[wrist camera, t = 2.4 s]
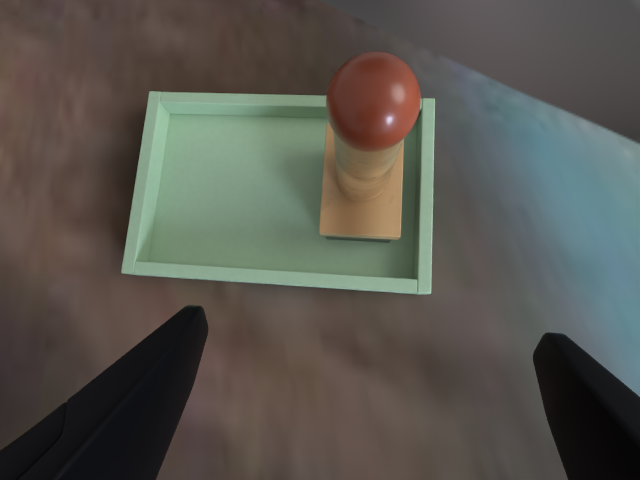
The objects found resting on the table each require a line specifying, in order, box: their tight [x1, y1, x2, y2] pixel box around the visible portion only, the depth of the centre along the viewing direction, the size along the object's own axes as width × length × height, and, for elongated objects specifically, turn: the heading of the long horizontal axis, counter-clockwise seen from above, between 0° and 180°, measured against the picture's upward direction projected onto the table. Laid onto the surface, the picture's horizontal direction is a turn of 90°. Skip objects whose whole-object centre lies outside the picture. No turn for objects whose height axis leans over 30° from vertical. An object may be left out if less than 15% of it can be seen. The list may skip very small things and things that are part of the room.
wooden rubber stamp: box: [319, 51, 421, 243], centre depth 17 cm, size 4×6×13 cm
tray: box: [121, 91, 435, 294], centre depth 23 cm, size 19×12×2 cm, turn 86°
